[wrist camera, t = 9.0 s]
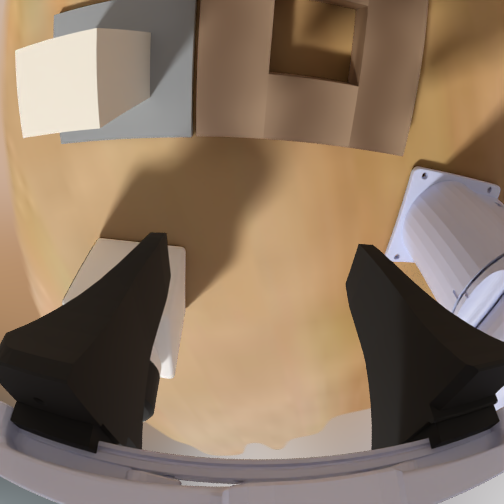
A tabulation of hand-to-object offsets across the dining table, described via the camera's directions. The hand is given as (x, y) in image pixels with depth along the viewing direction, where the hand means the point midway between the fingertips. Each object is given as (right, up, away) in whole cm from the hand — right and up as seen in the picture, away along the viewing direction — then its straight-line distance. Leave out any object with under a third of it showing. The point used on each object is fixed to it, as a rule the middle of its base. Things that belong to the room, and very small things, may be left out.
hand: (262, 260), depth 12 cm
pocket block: (+3, +12, +3) cm, 13 cm away
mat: (-8, +11, +3) cm, 14 cm away
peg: (-8, +11, +3) cm, 14 cm away
